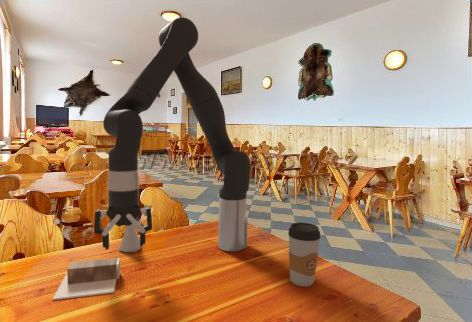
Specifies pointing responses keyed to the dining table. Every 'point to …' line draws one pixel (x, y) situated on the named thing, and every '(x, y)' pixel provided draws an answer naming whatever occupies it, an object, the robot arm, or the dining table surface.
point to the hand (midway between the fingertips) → (124, 246)
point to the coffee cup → (303, 253)
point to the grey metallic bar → (93, 270)
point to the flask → (130, 240)
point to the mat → (84, 289)
